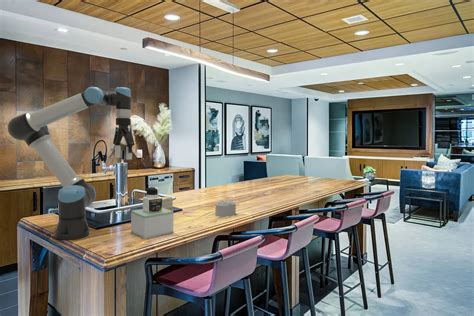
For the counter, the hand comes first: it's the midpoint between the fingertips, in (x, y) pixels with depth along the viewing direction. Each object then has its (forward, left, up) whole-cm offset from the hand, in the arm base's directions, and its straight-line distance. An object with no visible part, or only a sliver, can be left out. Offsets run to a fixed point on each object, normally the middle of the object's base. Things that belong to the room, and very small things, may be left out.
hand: (123, 158), depth 178 cm
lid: (+7, -18, -27) cm, 33 cm away
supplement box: (+25, 0, -37) cm, 45 cm away
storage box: (+7, -18, -37) cm, 41 cm away
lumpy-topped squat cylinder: (+61, -12, -37) cm, 72 cm away
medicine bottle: (+7, -18, -26) cm, 32 cm away
